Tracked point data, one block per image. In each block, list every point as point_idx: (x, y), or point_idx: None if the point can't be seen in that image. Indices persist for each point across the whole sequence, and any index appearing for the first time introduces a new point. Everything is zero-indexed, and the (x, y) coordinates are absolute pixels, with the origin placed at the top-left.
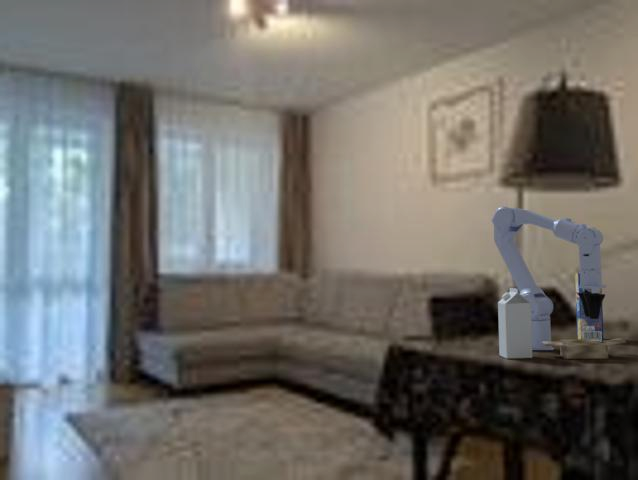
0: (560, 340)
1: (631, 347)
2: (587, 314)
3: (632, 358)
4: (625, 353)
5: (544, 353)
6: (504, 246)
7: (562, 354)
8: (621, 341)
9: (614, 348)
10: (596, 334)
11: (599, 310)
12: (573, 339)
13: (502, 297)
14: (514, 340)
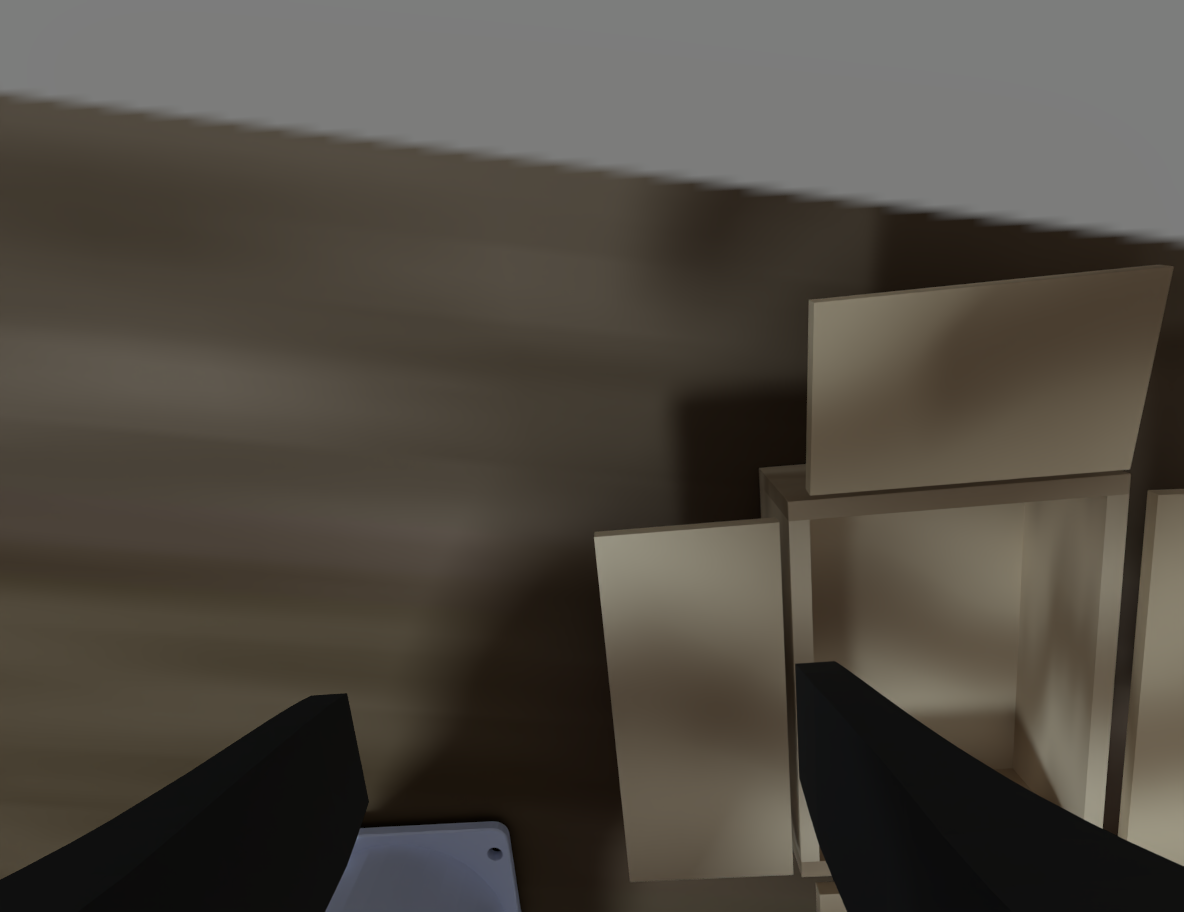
0: (727, 877)
1: (81, 113)
2: (344, 807)
3: (978, 215)
4: (598, 237)
5: (681, 888)
6: None
7: None
8: (1131, 319)
9: (212, 300)
10: None
11: (937, 744)
12: (625, 760)
13: None
14: None
